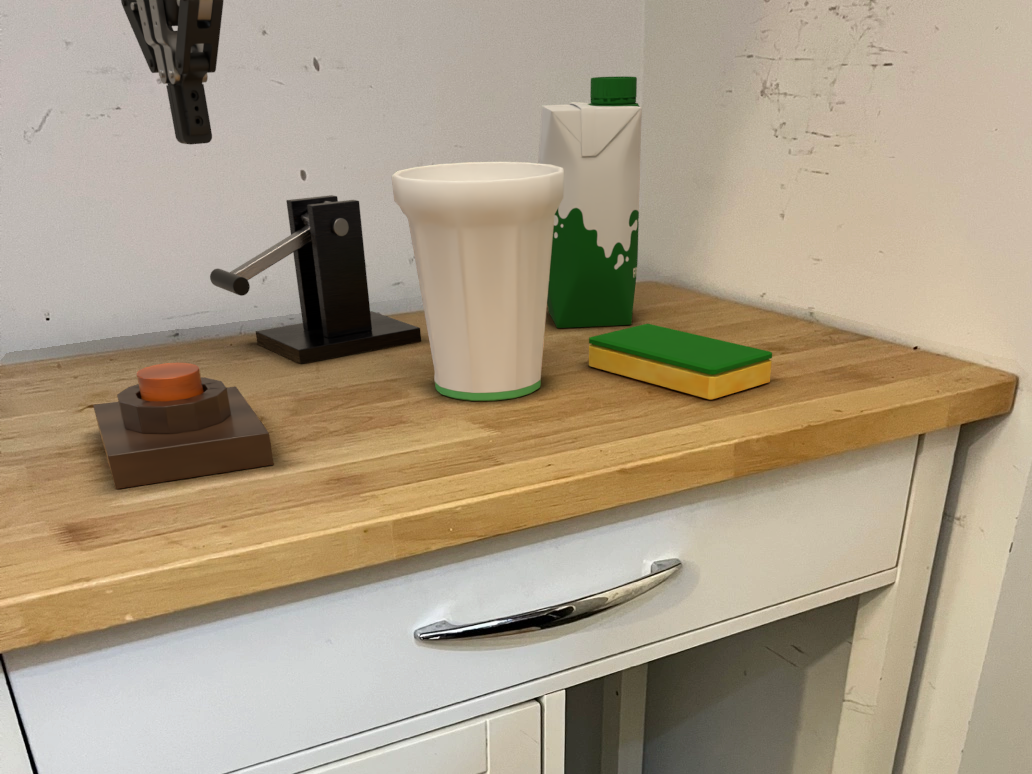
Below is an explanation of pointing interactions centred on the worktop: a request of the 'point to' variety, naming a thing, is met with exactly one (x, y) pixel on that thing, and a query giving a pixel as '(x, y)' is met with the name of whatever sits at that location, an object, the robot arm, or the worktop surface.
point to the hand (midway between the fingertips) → (195, 142)
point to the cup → (483, 270)
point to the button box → (181, 435)
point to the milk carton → (595, 204)
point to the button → (169, 382)
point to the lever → (261, 261)
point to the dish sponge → (680, 360)
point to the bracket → (333, 290)
